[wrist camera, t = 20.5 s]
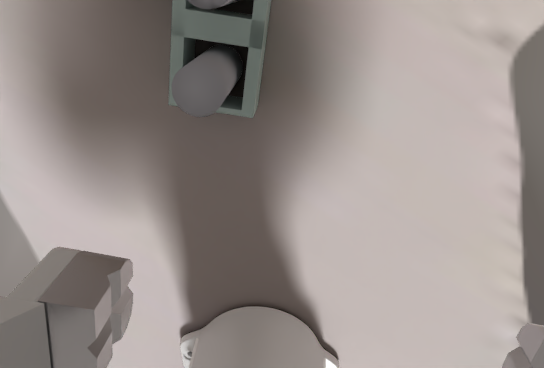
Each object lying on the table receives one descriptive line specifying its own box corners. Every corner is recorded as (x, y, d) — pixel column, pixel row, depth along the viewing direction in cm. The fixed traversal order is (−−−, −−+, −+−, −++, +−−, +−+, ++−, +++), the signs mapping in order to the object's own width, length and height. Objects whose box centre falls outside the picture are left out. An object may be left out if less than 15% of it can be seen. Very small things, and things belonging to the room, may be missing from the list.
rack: (257, 105, 39) (244, 140, 31) (181, 93, 39) (145, 125, 31) (279, -59, 34) (269, -71, 25) (189, -72, 34) (149, -90, 25)
